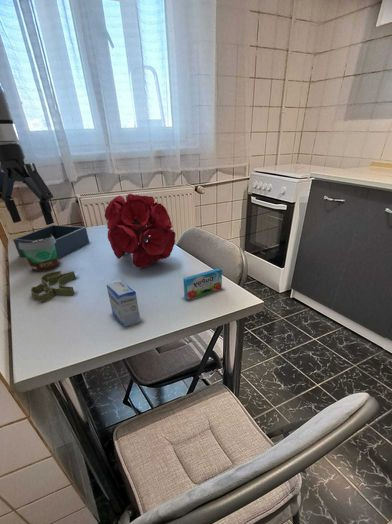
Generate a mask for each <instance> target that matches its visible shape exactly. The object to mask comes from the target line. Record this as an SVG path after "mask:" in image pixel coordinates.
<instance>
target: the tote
mask: <svg viewBox="0 0 392 524" xmlns="http://www.w3.org/2000/svg"><path fill="white" fill-rule="evenodd" d="M51 235H52V236H53V237H54V238H55V240H56V243H55V248H56V253H57V258H58V260H59V259H61V258H63V257H65V256H68V255H69V254H71V253H72V252H75V251H77V250H79V249H81V248H83V247H84V246H87V245H88V244H90V238H89V235H88V231H87V228H86V226H74V225H59V224H49V225H47V226H45V227H42V228H39V229H37V230H35V231H32V232H29V233H27V234H24V235H21V236H19V237H16V238H13V239H12V241H13V243H14V246H15V249H16V251H17V253H18V256H19V257H21V258H26V257H25V255H24V253H23V251H22V249H19V245H18V244H19V242H20V243H29V242H32V241H34V240H37V239H45V238H49V237H51Z"/></svg>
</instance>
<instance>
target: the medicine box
mask: <svg viewBox="0 0 392 524" xmlns="http://www.w3.org/2000/svg"><path fill="white" fill-rule="evenodd" d="M106 290H107V295H108V299H109V304H110V308H111V313H112V315H113V316H114V317H115V319H117V321H119V323H120V324H121V325H122V326H123V327H125V328H127V327H129V326H132V325H135V324H138V323H140V322H141V315H140V309H139V304H138V297H137V293H136V290H134V289H133V288H132V287H131V286H129V285H128V284H127V283H125V282H124V281H123V280H118V281H113V282H111V283H107V284H106Z"/></svg>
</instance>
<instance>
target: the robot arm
mask: <svg viewBox="0 0 392 524" xmlns="http://www.w3.org/2000/svg"><path fill="white" fill-rule="evenodd" d="M13 119H14V118H13V116H12V113H11V111H10V106H9V103H8V100H7V97H6V94H5V89H4V88H3V86H2V83H1V82H0V199H1V200H2V201H3V202H4V205H5V208H6V210H7V211H8V213H9V215H10V218H11V220H12V223H13V224H16V223H20V222H22V219H21V216H20V213H19V210H18V208H17V205H16V202H15V200H14V199H13V197H12V195H13V191H14V186H15V182H20V183H23V184H25V185H26V187H28V188H29V190H30V191H31V192H32V193H33V194H34V195H35V196H36V197H37V198H38V200H39V202H38V205H39V207H40V209H41V213H42V216H43V219H44V222H45V225H46V226H50V225H53V224H54V223H55V221H54V218H53V215H52V212H53V211H52V207H51V204H50V200H51V199H54V195H53V193H52V192H51V190H50V189H49V187H48V186H47V184H46V182H45V181H44V179H43V178H42V176H41V174H39V171H38V170H37V167H36V164H35V163H34V162H28V163H25V158H26V157H25V153H24V150H23V146H22V145H21V144H20V143H19V142H20V137H19V135H18V133H17V129H16V125H15V123H14V120H13Z"/></svg>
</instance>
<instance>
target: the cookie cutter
mask: <svg viewBox="0 0 392 524" xmlns="http://www.w3.org/2000/svg"><path fill="white" fill-rule="evenodd" d="M76 279H77V277H76V274H75V271H69V272H65V273H62V270H57V271H51V272H48V273H46V274H43V275H41V277H40V280H41V283H39V284H38V285H36V286H31V288H30V293H31V295H32V298H33V299H34V300H36V301H40V303H44V302H46V301H49V300H51V299H53V298H52V297H54V296H73V295H75V290H74V289H75V288H74V287H73V286H68V285H67V286H66V285H64V284H66V283H68V282H71V281H73V280H76ZM48 283H49V285H54V284H57V285H58V287H52V286H48ZM42 291H44V293H42V294H41V292H42Z"/></svg>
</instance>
